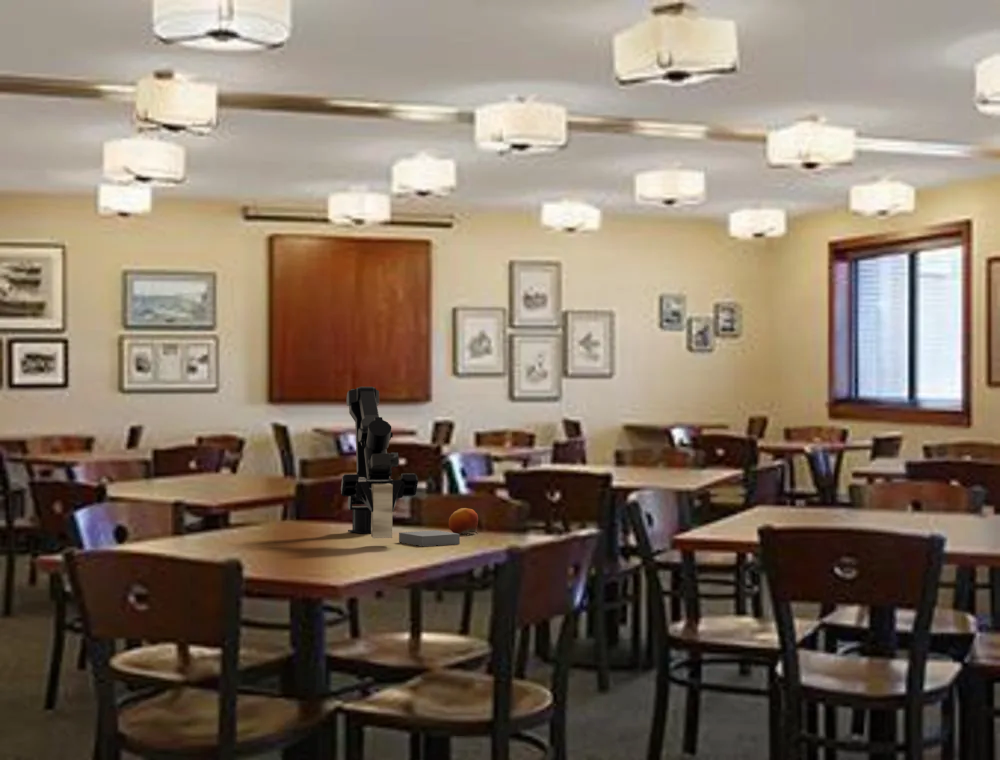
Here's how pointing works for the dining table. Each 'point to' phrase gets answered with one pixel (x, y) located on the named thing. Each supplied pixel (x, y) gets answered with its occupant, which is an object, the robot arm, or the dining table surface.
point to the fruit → (463, 521)
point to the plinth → (429, 538)
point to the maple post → (381, 510)
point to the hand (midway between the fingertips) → (382, 510)
